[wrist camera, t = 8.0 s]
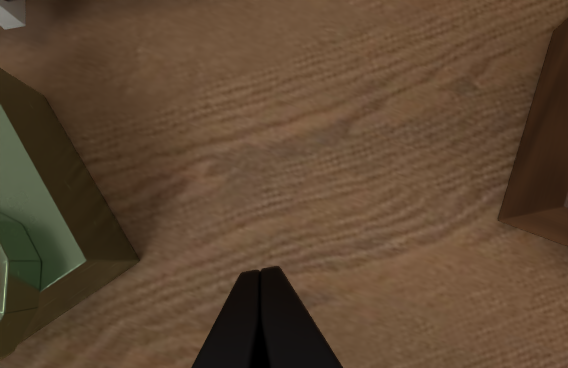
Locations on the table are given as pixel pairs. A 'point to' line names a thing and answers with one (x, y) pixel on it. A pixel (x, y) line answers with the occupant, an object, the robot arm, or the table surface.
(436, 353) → the table surface
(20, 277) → the green block
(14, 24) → the device
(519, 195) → the walnut block
